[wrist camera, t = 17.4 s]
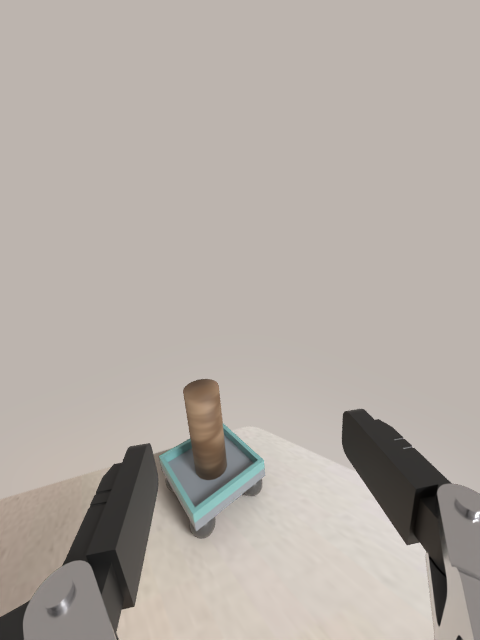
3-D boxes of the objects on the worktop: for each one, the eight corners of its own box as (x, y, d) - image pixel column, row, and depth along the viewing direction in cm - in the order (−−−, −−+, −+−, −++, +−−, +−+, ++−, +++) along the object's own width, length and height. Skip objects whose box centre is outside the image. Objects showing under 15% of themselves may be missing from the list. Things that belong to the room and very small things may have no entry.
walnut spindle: (204, 486, 36) (192, 403, 32) (190, 464, 40) (177, 387, 36) (233, 467, 38) (225, 388, 34) (216, 448, 42) (207, 375, 38)
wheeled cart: (199, 551, 32) (192, 516, 30) (164, 486, 42) (157, 456, 40) (267, 491, 39) (265, 460, 37) (224, 447, 49) (220, 420, 47)
